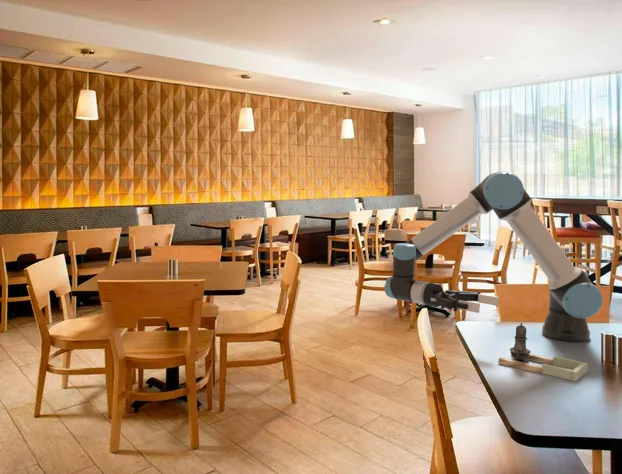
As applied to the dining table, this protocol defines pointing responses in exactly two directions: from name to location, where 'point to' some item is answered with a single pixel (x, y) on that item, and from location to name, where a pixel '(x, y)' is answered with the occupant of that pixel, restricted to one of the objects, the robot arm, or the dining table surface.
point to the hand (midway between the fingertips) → (489, 304)
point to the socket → (573, 374)
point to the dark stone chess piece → (520, 345)
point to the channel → (526, 365)
